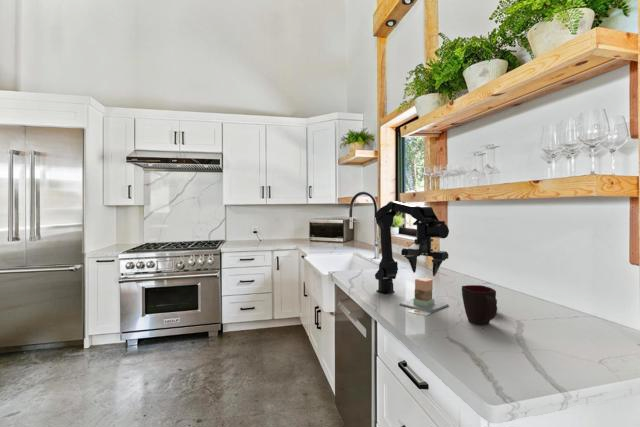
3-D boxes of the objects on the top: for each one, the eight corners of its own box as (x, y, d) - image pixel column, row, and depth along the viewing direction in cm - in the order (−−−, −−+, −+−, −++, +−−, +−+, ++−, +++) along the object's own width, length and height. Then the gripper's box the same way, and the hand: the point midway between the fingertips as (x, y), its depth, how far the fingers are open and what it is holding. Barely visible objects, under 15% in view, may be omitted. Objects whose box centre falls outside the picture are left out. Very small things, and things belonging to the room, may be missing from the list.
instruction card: (408, 312, 124) (408, 311, 124) (414, 309, 128) (414, 308, 128) (426, 316, 120) (426, 314, 120) (431, 312, 124) (431, 311, 124)
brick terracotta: (415, 288, 133) (415, 279, 133) (421, 287, 136) (421, 277, 136) (425, 291, 129) (425, 281, 129) (432, 289, 132) (432, 279, 132)
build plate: (399, 304, 134) (399, 298, 134) (418, 298, 143) (418, 292, 143) (429, 313, 123) (429, 306, 123) (448, 305, 132) (448, 299, 132)
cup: (483, 317, 118) (483, 284, 118) (508, 331, 105) (508, 295, 104) (457, 318, 118) (457, 285, 117) (479, 332, 104) (479, 295, 104)
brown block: (414, 298, 133) (414, 289, 133) (421, 296, 136) (421, 287, 136) (425, 301, 129) (425, 291, 129) (432, 299, 132) (432, 289, 132)
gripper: (393, 236, 134) (393, 273, 135) (434, 239, 120) (434, 281, 120) (409, 234, 142) (409, 270, 142) (449, 237, 127) (449, 276, 127)
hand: (423, 274), depth 133 cm, fingers open, 9 cm apart
